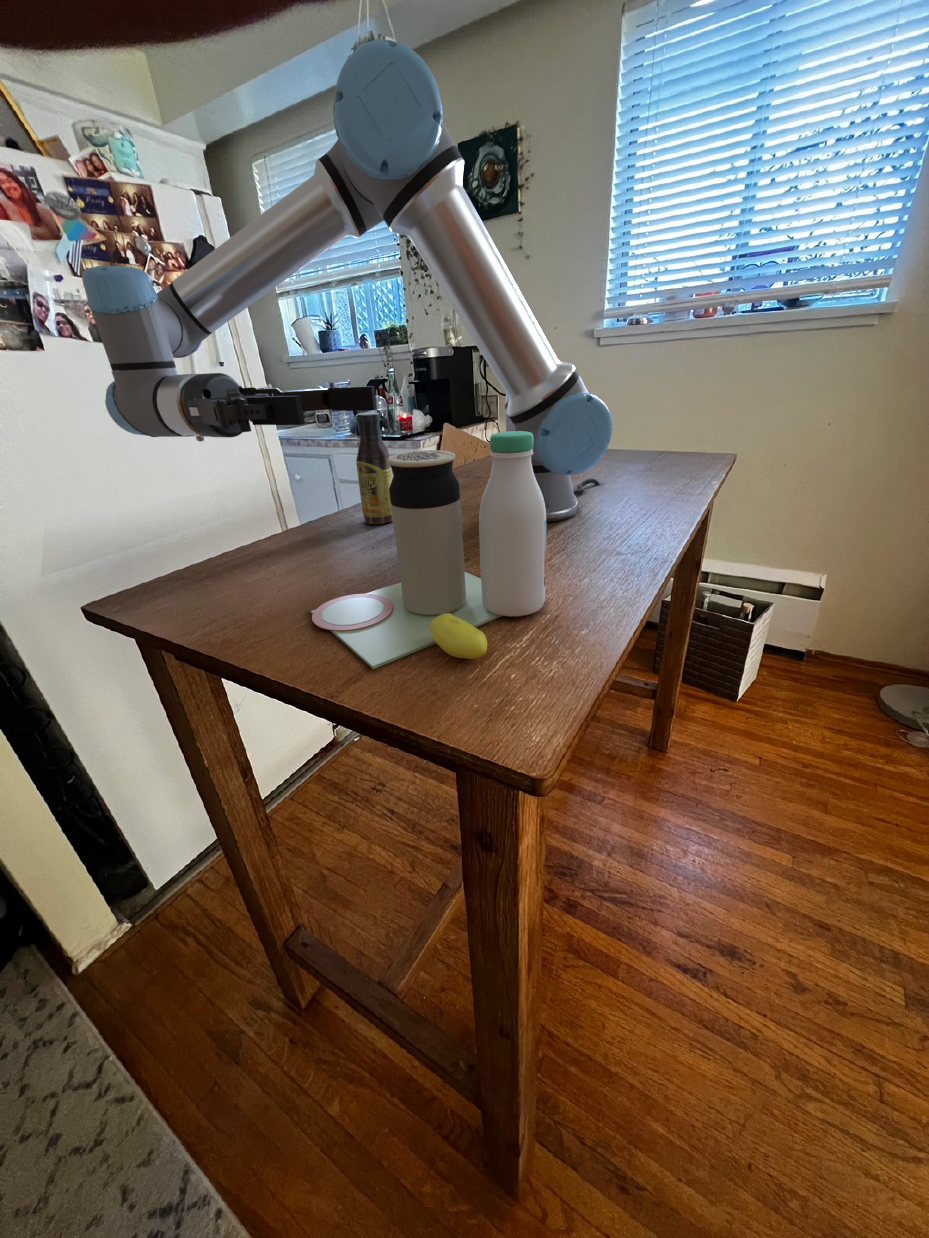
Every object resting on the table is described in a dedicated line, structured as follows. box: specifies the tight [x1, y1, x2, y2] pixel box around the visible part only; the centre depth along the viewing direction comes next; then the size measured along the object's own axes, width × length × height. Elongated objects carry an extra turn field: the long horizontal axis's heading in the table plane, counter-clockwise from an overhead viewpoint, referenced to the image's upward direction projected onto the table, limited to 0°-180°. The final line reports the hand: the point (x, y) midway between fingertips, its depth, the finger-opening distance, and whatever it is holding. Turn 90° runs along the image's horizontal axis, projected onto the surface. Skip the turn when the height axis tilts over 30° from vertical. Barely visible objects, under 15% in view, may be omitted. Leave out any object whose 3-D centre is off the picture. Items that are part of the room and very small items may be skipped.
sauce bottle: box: [355, 411, 393, 526], centre depth 94 cm, size 6×6×20 cm
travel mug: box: [387, 449, 466, 615], centre depth 59 cm, size 8×8×18 cm
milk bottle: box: [478, 431, 547, 617], centre depth 57 cm, size 8×8×20 cm
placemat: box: [310, 571, 504, 670], centre depth 63 cm, size 23×18×1 cm
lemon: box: [430, 613, 488, 660], centre depth 52 cm, size 4×8×4 cm, turn 37°
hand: (341, 403), depth 56 cm, fingers open, 13 cm apart
